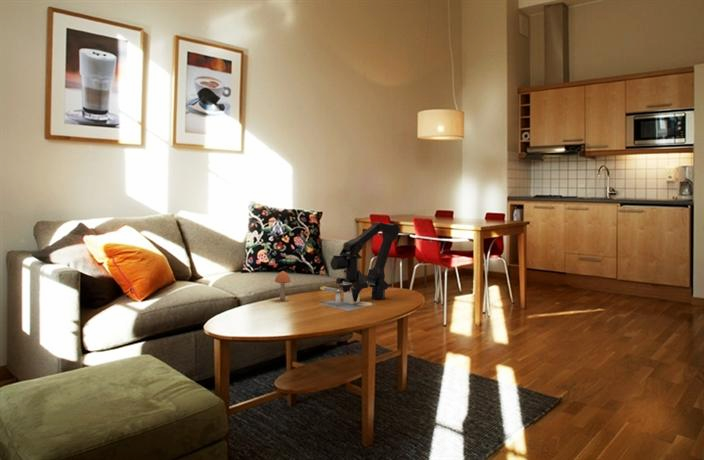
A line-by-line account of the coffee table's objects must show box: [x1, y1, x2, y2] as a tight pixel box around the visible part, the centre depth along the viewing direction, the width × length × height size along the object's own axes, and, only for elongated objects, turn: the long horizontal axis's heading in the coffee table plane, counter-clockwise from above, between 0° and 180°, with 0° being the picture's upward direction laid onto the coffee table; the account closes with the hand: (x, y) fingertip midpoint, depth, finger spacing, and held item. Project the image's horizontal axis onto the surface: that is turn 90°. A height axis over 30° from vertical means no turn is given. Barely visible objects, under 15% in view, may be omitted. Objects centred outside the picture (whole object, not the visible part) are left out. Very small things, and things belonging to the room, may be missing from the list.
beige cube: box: [343, 290, 361, 304], centre depth 244 cm, size 5×5×5 cm
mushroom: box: [274, 270, 292, 302], centre depth 252 cm, size 8×8×15 cm
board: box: [318, 292, 376, 312], centre depth 240 cm, size 19×20×7 cm
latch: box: [320, 286, 343, 294], centre depth 240 cm, size 12×4×1 cm, turn 49°
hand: (351, 300), depth 244 cm, fingers closed on beige cube, 6 cm apart
